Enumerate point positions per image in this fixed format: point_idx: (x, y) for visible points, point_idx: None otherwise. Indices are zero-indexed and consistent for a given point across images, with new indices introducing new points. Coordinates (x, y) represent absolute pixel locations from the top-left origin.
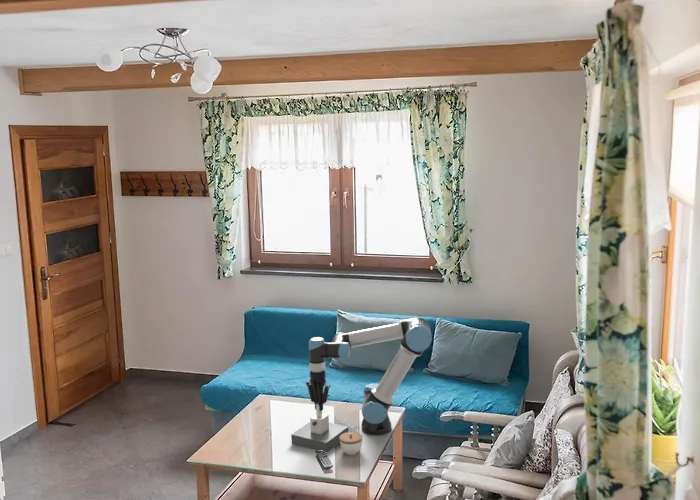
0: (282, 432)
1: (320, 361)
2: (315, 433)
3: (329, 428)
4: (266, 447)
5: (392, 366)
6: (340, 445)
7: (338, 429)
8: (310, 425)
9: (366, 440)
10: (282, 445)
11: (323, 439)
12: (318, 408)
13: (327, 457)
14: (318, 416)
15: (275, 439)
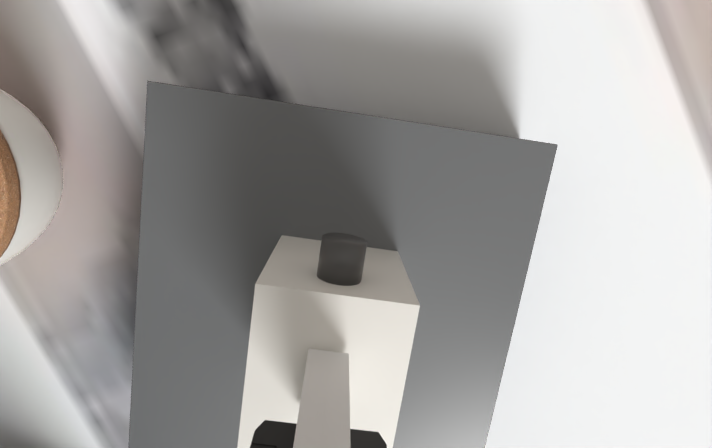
0: (667, 298)
1: None
2: None
3: None
4: (701, 14)
5: None
6: (16, 108)
7: (181, 376)
8: (457, 369)
9: (6, 379)
10: (584, 93)
11: (208, 143)
12: (302, 431)
13: (136, 14)
14: (317, 355)
15: (678, 173)
